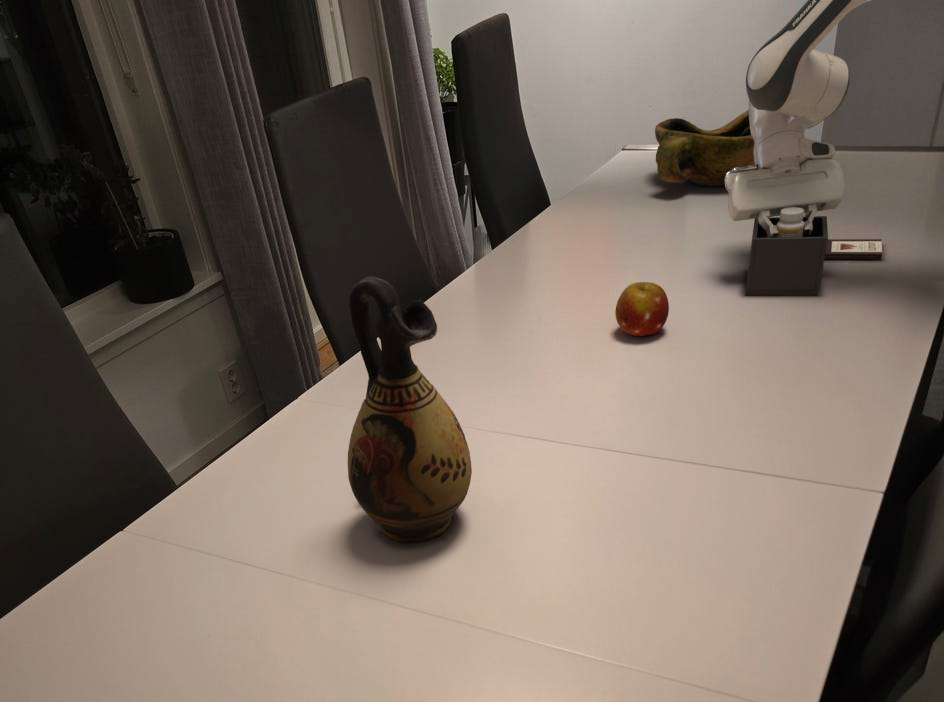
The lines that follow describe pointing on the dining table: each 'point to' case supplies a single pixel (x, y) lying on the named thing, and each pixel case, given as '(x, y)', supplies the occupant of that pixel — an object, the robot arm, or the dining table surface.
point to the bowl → (702, 150)
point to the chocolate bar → (854, 249)
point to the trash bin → (787, 261)
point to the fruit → (642, 309)
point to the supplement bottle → (791, 222)
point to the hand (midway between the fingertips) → (790, 235)
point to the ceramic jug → (403, 424)
